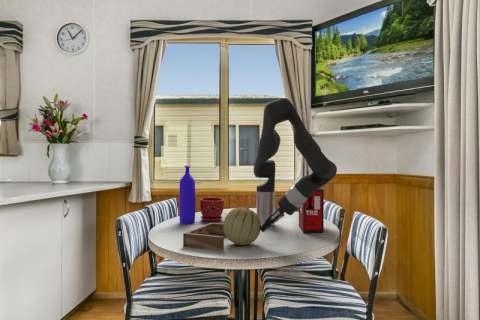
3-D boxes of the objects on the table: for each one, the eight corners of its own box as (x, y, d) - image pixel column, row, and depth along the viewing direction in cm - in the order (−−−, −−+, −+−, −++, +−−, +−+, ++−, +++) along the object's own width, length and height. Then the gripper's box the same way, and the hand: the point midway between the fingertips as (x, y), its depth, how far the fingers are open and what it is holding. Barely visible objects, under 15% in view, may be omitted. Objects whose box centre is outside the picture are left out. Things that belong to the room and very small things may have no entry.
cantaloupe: (215, 245, 129) (215, 207, 128) (237, 238, 141) (237, 202, 140) (247, 251, 120) (246, 210, 120) (267, 243, 132) (267, 205, 132)
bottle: (180, 221, 179) (180, 165, 179) (195, 221, 179) (195, 165, 179) (178, 224, 170) (178, 166, 170) (194, 224, 171) (194, 166, 171)
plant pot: (197, 222, 176) (197, 199, 176) (203, 218, 189) (203, 197, 189) (221, 223, 174) (221, 200, 174) (226, 218, 187) (226, 197, 187)
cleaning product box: (298, 226, 167) (298, 186, 167) (316, 226, 167) (316, 186, 166) (303, 233, 150) (303, 189, 150) (323, 233, 150) (323, 189, 150)
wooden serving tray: (211, 233, 149) (211, 222, 149) (245, 237, 143) (245, 225, 143) (183, 246, 127) (183, 233, 127) (222, 251, 121) (222, 237, 121)
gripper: (289, 190, 131) (260, 219, 135) (281, 194, 118) (249, 226, 123) (303, 204, 129) (272, 234, 133) (296, 209, 116) (262, 241, 121)
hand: (261, 230), depth 128 cm, fingers closed
